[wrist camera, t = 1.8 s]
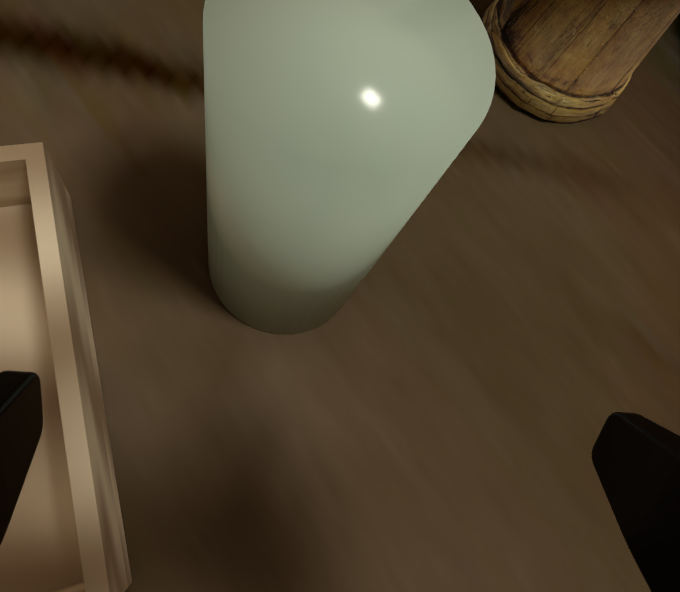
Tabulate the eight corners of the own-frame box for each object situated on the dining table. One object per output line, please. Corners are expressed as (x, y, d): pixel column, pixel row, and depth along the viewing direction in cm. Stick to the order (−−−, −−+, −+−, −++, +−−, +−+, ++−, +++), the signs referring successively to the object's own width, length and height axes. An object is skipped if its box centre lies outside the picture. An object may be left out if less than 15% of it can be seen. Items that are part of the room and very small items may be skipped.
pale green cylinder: (371, 317, 24) (536, 151, 11) (225, 349, 22) (242, 190, 10) (332, 189, 25) (442, -74, 13) (194, 209, 23) (175, -77, 11)
